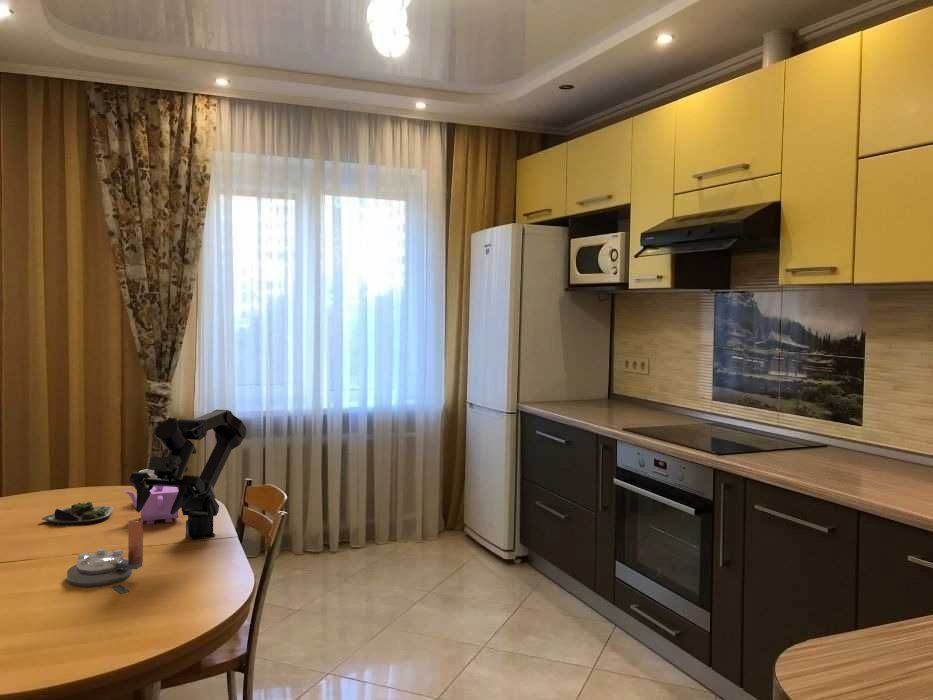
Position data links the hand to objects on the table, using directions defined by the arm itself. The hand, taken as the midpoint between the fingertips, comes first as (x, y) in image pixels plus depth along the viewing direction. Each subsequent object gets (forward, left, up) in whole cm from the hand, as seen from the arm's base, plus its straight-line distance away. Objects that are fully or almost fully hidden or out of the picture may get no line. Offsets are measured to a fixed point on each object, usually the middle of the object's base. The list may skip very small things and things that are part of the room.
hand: (154, 512), depth 179 cm
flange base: (+13, +4, -13) cm, 19 cm away
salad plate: (+7, -53, -14) cm, 55 cm away
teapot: (-12, -38, -13) cm, 42 cm away
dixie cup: (-16, -61, -13) cm, 64 cm away
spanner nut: (+11, +3, -11) cm, 16 cm away
